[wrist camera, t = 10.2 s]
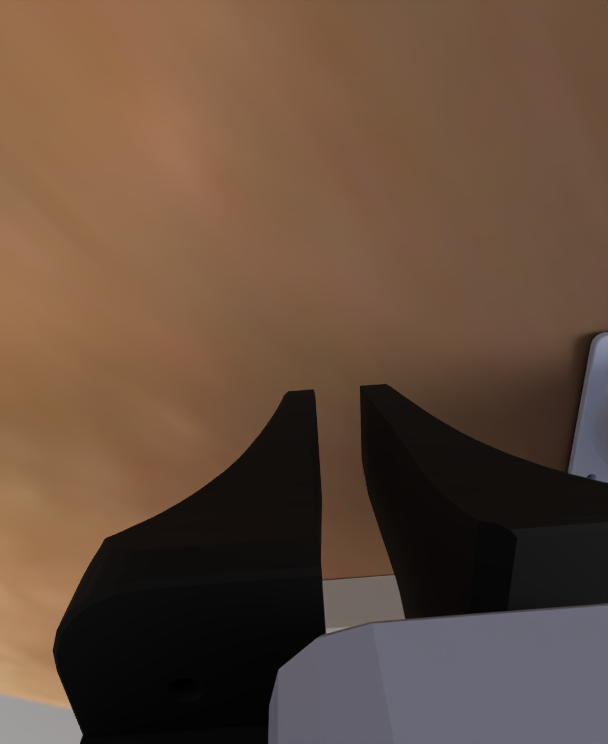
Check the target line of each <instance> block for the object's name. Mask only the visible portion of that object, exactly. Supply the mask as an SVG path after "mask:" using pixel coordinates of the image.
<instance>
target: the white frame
mask: <svg viewBox="0 0 608 744" xmlns="http://www.w3.org/2000/svg"><path fill="white" fill-rule="evenodd" d="M322 583H323V597H324V612H325V626H326V634H327V633H331V632H334V631H338V630H342V629H345V628H349V627H353V626H357V625H360V624H364V623H368V622H374V621H387V620H400V619H405V616H404V611H403V606H402V602H401V597H400V593H399V589H398V585H397V582H396V578H395V575H388V576H375V577H362V578H349V579H336V580H323V581H322Z"/></svg>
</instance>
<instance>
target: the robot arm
mask: <svg viewBox="0 0 608 744" xmlns="http://www.w3.org/2000/svg"><path fill="white" fill-rule="evenodd" d="M360 406H361V448H362V463H363V469H364V475H365V480H366V485H367V490H368V495H369V498H370V501H371V504H372V507H373V511H374V514H375V517H376V520H377V523H378V526H379V529H380V532H381V535H382V538H383V541H384V544H385V547H386V550H387V553H388V556H389V559H390V562H391V565H392V568H393V571H394V574H395V578H396V582H397V585H398V589H399V593H400V597H401V602H402V606H403V611H404V616H405V619H400V620H387V621H374V622H368V623H364V624H360V625H357V626H353V627H349V628H345V629H342V630H338V631H334V632H331V633H327V634H326V626H325V612H324V597H323V583H322V570H321V522H322V492H321V476H320V461H319V446H318V430H317V415H316V400H315V393H314V390H300V391H288V392H287V393H286V394H285V395H284V397H283V399H282V401H281V403H280V405H279V406H278V408H277V410H276V411H275V413H274V415H273V416H272V418H271V419H270V421H269V422H268V423H267V425H266V426H265V428H264V429H263V431H262V432H261V433H260V435H259V436H258V437H257V438H256V439H255V441H254V442H253V443H252V444H251V445H250V447H249V448H248V449H247V450H246V451H245V452H244V453H243V454H242V455H241V457H240V458H239V459H238V460H237V461H235V462H234V463H233V464H232V465H231V466H230V467H229V468H228V469H227V470H225V471H224V472H223V473H222V474H220V475H219V476H218V477H216V478H215V479H214V480H212V481H211V482H210V483H208V484H207V485H205V486H204V487H203V488H201V489H200V490H199V491H197V492H196V493H194V494H193V495H191V496H189V497H188V498H186V499H185V500H183V501H181V502H180V503H178V504H176V505H174V506H173V507H171V508H169V509H167V510H166V511H164V512H162V513H160V514H158V515H156V516H154V517H152V518H150V519H148V520H146V521H144V522H141V523H139V524H137V525H135V526H133V527H130V528H128V529H126V530H124V531H122V532H119V533H117V534H115V535H112V536H110V537H108V538H105V540H104V541H103V543H102V545H101V547H100V548H99V550H98V551H97V553H96V555H95V556H94V558H93V559H92V561H91V563H90V564H89V566H88V568H87V570H86V572H85V574H84V575H83V577H82V579H81V581H80V583H79V585H78V587H77V589H76V591H75V594H74V596H73V598H72V600H71V602H70V604H69V606H68V608H67V610H66V612H65V614H64V616H63V618H62V620H61V623H60V625H59V627H58V629H57V631H56V636H55V642H54V647H53V654H54V659H55V664H56V669H57V672H58V675H59V677H60V680H61V682H62V684H63V687H64V689H65V692H66V694H67V697H68V699H69V702H70V704H71V707H72V709H73V712H74V714H75V716H76V719H77V721H78V724H79V726H80V729H81V731H82V734H83V737H82V739H81V742H80V744H608V332H604V333H600V334H598V335H597V336H595V338H594V339H593V340H592V343H591V346H590V352H589V357H588V363H587V369H586V374H585V380H584V385H583V391H582V396H581V402H580V407H579V413H578V418H577V424H576V430H575V435H574V441H573V446H572V452H571V457H570V463H569V468H568V473H565V472H562V471H558V470H555V469H551V468H548V467H545V466H541V465H539V464H536V463H533V462H530V461H527V460H524V459H521V458H518V457H515V456H512V455H510V454H507V453H505V452H502V451H500V450H497V449H495V448H493V447H491V446H488V445H486V444H484V443H482V442H479V441H477V440H475V439H473V438H471V437H469V436H467V435H465V434H463V433H461V432H459V431H458V430H456V429H454V428H452V427H451V426H449V425H447V424H445V423H443V422H442V421H440V420H439V419H437V418H435V417H434V416H432V415H431V414H429V413H428V412H426V411H424V410H423V409H422V408H420V407H419V406H417V405H416V404H414V403H413V402H411V401H410V400H409V399H407V398H406V397H404V396H403V395H401V394H400V393H399V392H397V391H396V390H394V389H393V388H392V387H390V386H388V385H387V384H380V385H366V386H360ZM590 474H591V476H590V477H588V478H586V477H587V476H588V475H590Z"/></svg>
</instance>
